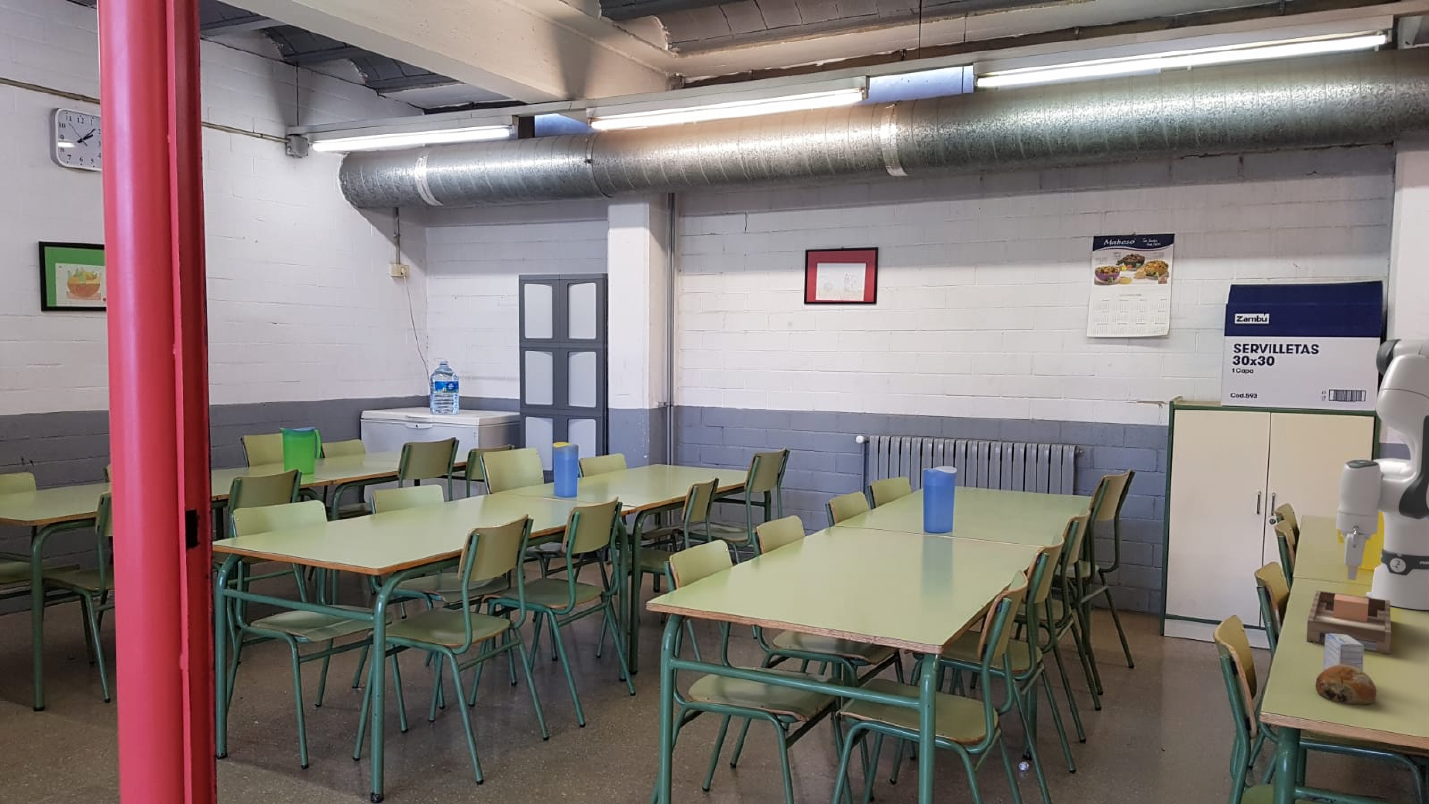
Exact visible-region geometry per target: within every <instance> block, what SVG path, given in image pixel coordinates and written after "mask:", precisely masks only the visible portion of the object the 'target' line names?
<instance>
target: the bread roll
mask: <svg viewBox="0 0 1429 804" xmlns="http://www.w3.org/2000/svg"><path fill="white" fill-rule="evenodd" d="M1315 690H1316V693H1318V695H1320V696H1321V697H1323V698H1326V699H1329V700H1331V701H1333V702H1336V703H1337V702H1338V703H1343V704H1348V705H1349V704H1350V705H1360V706H1362V705H1363V706H1364V705H1368V704H1369V705H1370V704H1372V703H1374V702H1376V699H1377V694H1378V693H1377V687H1376V685H1375V683H1374V681H1373V680H1372V678H1371V677H1370V676H1369V675H1368V674H1367V673H1366V672H1365V671H1364V670H1363V671H1362V670H1360V669H1358V668H1356V667H1354V666H1349V665H1344V664H1343V665H1335V666H1332V667H1330V668H1328V669H1326V670H1324V671H1321V672H1320V673H1319V674H1318V675H1317V678H1316V681H1315Z"/></svg>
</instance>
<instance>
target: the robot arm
mask: <svg viewBox="0 0 1429 804" xmlns="http://www.w3.org/2000/svg"><path fill="white" fill-rule="evenodd" d="M1376 352H1377V353H1376V356H1375V365H1376V369H1377V371H1378V372H1379V373H1380V374H1381V375H1382V376H1383V378H1382V381H1381V384H1380V387H1379V391H1378V394H1377V398H1376V403H1375V412H1376V414H1377V416H1378V418H1379V419H1380V420H1381V421H1382V423H1384V424H1385V425H1387V426H1388V427H1390V428H1391V429H1393V430H1395V431H1396V432H1397V437H1398V438H1399V440H1400V441H1401V442H1402V443H1404V444H1405V445H1406V446H1407V447H1408V450H1409V452H1410V453H1409V454H1410V459H1404V458H1395V457H1388V458H1387V457H1386V458H1376V459H1373V460H1368V459H1360V460H1359V459H1353V460H1350V461H1347V462H1345V463H1344V465H1343V468H1342V471H1341V474H1340V480H1339V486H1338V487H1339V488H1338V498H1339V504H1338V507H1337V509H1336V518H1335V530H1337V531H1340V537H1342V538H1344V542H1345V543H1344V544H1345V545H1344V546H1345V550H1344V551H1345V552H1344V558H1343V559H1344V560H1343V561H1344V562H1343V563H1344V565H1345V566H1347V579H1348V580H1351V581H1356V580H1357V573H1358V568H1361V567H1362V565H1363V555H1364V552H1365V547H1366V542H1367V541H1370V540H1371V539H1372V535H1377V534H1378V529H1379V528H1378V527H1379V515H1380V514H1379V512H1380V513H1382V517H1383V523H1384V524H1383V529H1384V531H1383V548H1382V549H1381V552H1380V562H1381V563H1380V564H1379V565H1378V566H1376V567H1375V568H1374V573H1373V579H1372V586H1371V591H1366V592H1365V597H1368V598H1375V599H1382V600H1390V607H1391V606H1393V607H1397V608H1402V609H1410V610H1423V611H1425V610H1426V611H1429V518H1428V517H1429V338H1428V339H1401V338H1396V339H1395V338H1394V339H1389V340H1386V341H1384V342H1383V343H1382V344H1381V345H1380V346H1379V347H1378V350H1377V351H1376Z"/></svg>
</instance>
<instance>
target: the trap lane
mask: <svg viewBox="0 0 1429 804" xmlns="http://www.w3.org/2000/svg"><path fill="white" fill-rule="evenodd" d="M1335 594H1340V595H1348V596H1355V597H1362V598H1369V602H1368V617H1367V622H1360V621H1354V620H1347V619H1340V618H1333V610H1334V598H1335ZM1391 624H1392V621H1391V605H1390V600H1382V599H1375V598H1370V597H1368V596H1358V595H1352V594H1345V593H1337V592H1328V591H1322V590H1315V594H1314V597H1313V601H1312V604H1311V608H1310V610H1309V615H1308V617H1307V624H1306V625H1307V627H1306V640H1307V641H1306V642H1310V641H1313V642H1312V643H1316V642H1318V643H1317V644H1322V643H1324V645H1325V635H1326V634H1344V635H1348V636H1350V637H1352V638H1353V639H1355V640H1356V641H1358V642H1359V643H1361V644H1362V645H1363V646H1364V652H1365V651H1367V652H1372V653H1378V652H1379V654H1384V653H1385V654H1386V655H1390V654H1391V653H1390V652H1391V638H1392V635H1391V634H1392V627H1391V626H1392V625H1391Z"/></svg>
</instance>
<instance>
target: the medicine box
mask: <svg viewBox="0 0 1429 804" xmlns="http://www.w3.org/2000/svg"><path fill="white" fill-rule="evenodd" d="M1364 653H1365V650H1364V646H1363V645H1362V644H1361V643H1359V642H1358V641H1356V640H1355V639H1353V638H1352V637H1350V636H1348V635H1344V634H1326V635H1325V644H1324V654H1323V671H1324V670H1326V669H1328V668H1330V667H1332V666H1335V665H1343V664H1344V665H1349V666H1354V667H1356V668H1358V669H1360V670H1362V671H1363V672H1364ZM1323 671H1322V672H1323Z"/></svg>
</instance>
